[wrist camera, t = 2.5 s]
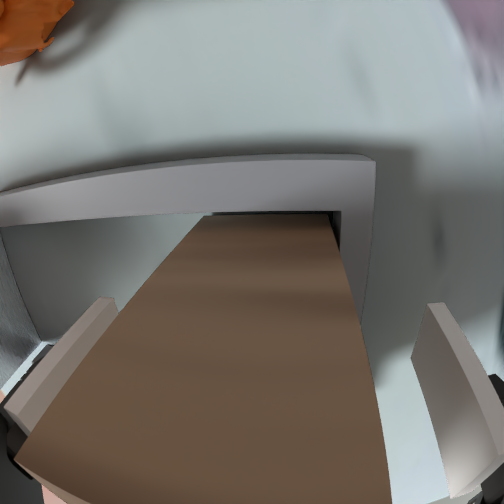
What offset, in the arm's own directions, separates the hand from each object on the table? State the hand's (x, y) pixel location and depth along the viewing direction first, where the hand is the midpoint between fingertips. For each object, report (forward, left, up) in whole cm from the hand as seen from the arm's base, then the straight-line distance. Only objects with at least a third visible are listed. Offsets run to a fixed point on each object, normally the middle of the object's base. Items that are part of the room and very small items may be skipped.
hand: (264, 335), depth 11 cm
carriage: (0, 0, -2) cm, 2 cm away
